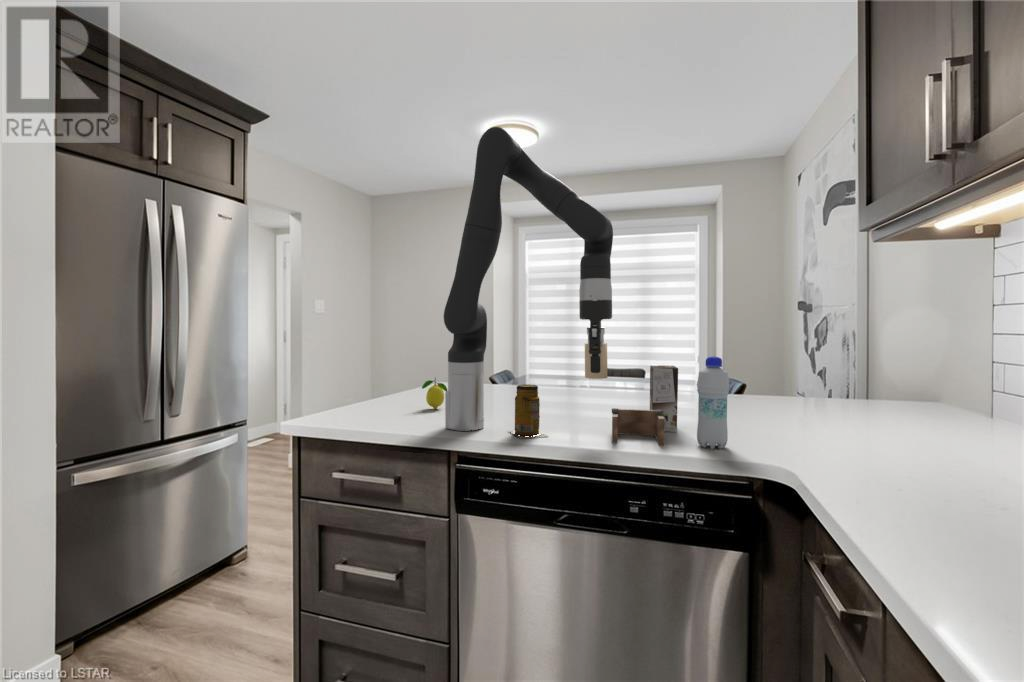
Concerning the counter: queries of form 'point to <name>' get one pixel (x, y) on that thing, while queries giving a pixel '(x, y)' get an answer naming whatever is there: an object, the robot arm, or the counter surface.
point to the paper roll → (602, 363)
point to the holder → (638, 423)
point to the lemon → (435, 393)
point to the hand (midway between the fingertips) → (596, 371)
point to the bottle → (712, 404)
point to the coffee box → (665, 394)
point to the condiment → (527, 412)
